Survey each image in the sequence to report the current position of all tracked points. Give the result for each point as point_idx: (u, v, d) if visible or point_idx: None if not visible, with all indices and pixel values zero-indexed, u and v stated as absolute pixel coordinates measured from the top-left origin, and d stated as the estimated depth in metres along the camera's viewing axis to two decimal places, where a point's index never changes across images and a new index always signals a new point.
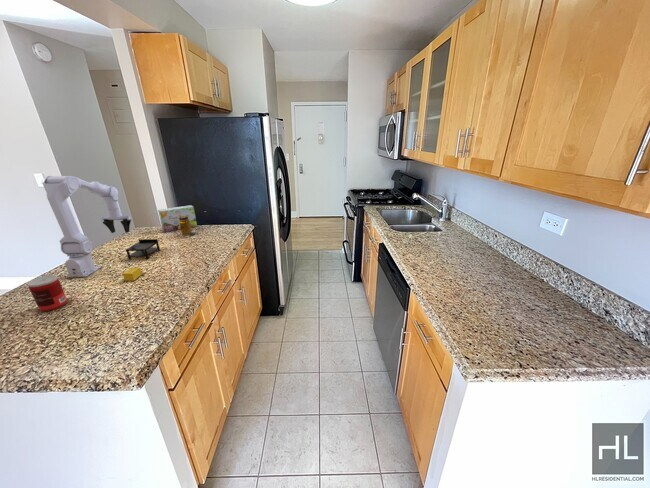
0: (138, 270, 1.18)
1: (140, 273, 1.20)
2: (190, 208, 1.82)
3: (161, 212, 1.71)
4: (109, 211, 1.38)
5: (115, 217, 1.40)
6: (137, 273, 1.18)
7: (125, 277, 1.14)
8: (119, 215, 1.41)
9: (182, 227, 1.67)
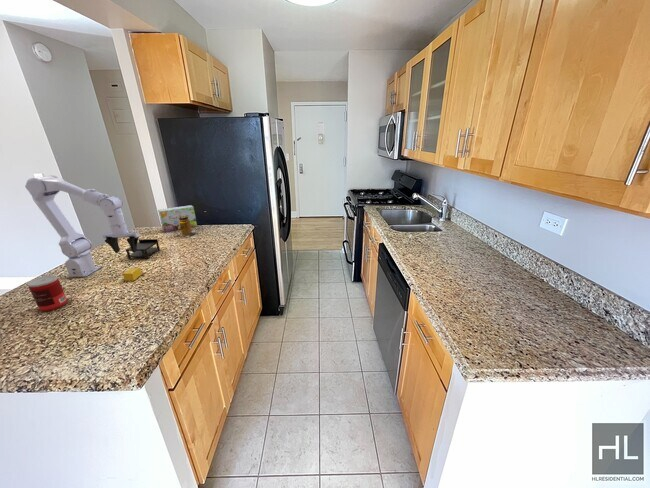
0: (138, 270, 1.18)
1: (140, 273, 1.20)
2: (190, 208, 1.82)
3: (161, 212, 1.71)
4: (113, 227, 1.13)
5: (120, 234, 1.15)
6: (137, 273, 1.18)
7: (125, 277, 1.14)
8: (125, 232, 1.16)
9: (182, 227, 1.67)
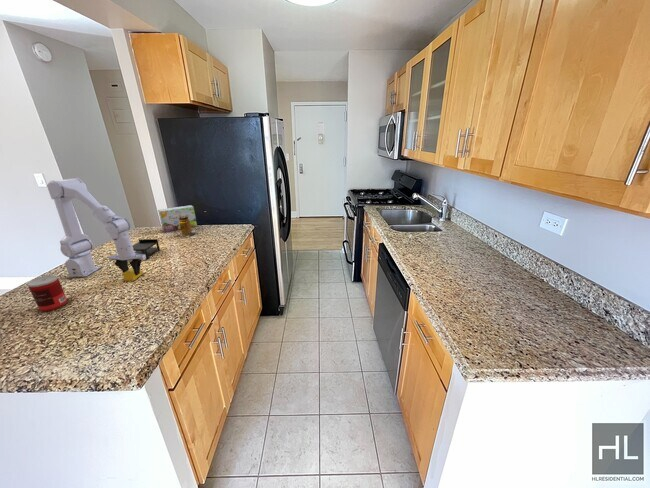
0: None
1: (140, 273, 1.20)
2: (190, 208, 1.82)
3: (161, 212, 1.71)
4: (119, 250, 1.10)
5: (126, 257, 1.11)
6: None
7: (125, 277, 1.14)
8: (131, 254, 1.13)
9: (182, 227, 1.67)
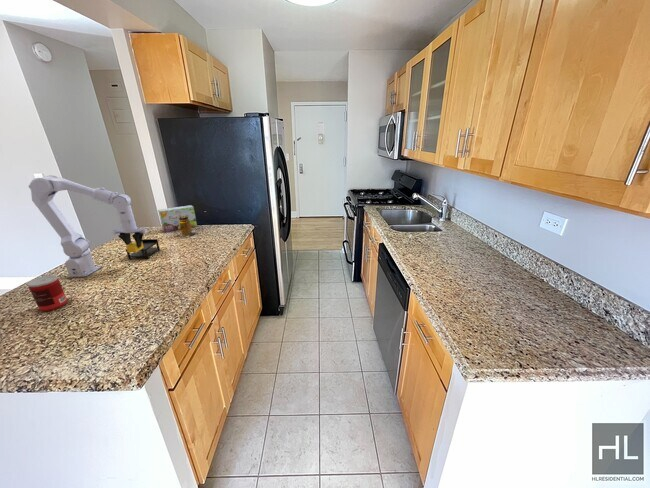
0: None
1: (142, 247, 1.29)
2: (190, 208, 1.82)
3: (161, 212, 1.71)
4: (123, 223, 1.19)
5: (129, 230, 1.21)
6: None
7: (128, 249, 1.24)
8: (134, 228, 1.22)
9: (182, 227, 1.67)
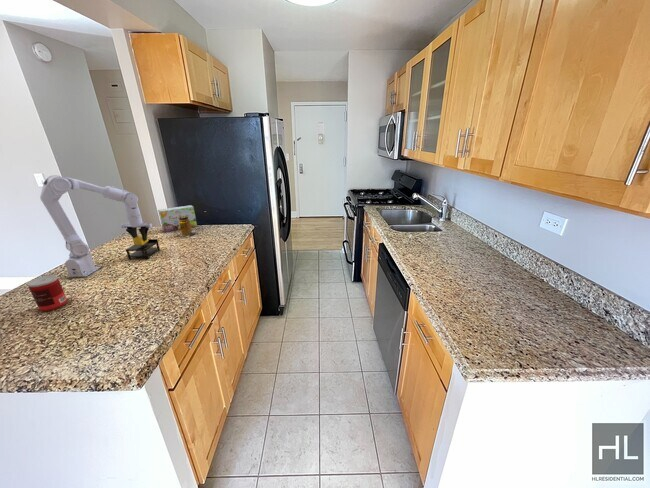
0: None
1: (147, 240, 1.41)
2: (190, 208, 1.82)
3: (161, 212, 1.71)
4: (130, 218, 1.31)
5: (136, 224, 1.33)
6: None
7: (135, 242, 1.35)
8: (140, 222, 1.34)
9: (182, 227, 1.67)
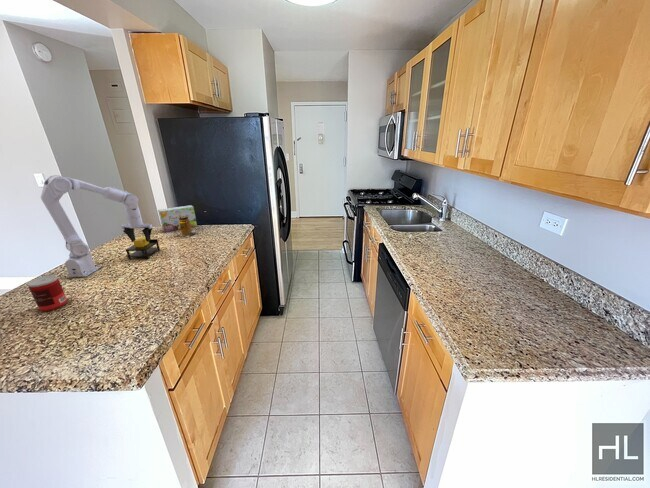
0: None
1: (148, 242, 1.41)
2: (190, 208, 1.82)
3: (161, 212, 1.71)
4: (130, 219, 1.31)
5: (136, 225, 1.33)
6: (146, 241, 1.39)
7: (135, 244, 1.36)
8: (140, 223, 1.34)
9: (182, 227, 1.67)
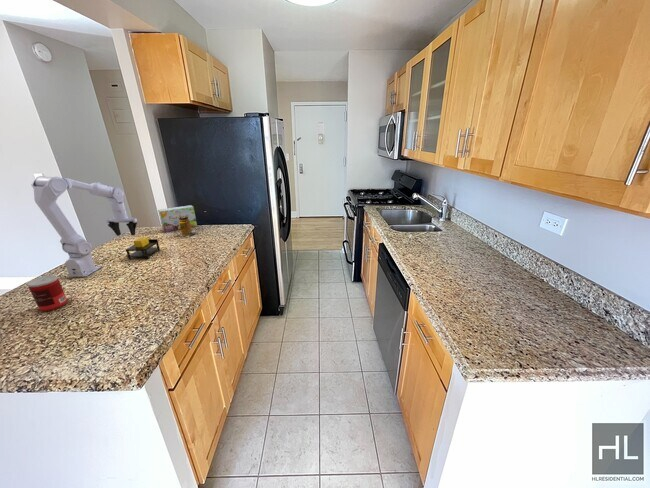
0: (146, 239, 1.40)
1: (148, 242, 1.41)
2: (190, 208, 1.82)
3: (161, 212, 1.71)
4: (115, 213, 1.33)
5: (121, 219, 1.34)
6: (146, 241, 1.39)
7: (135, 244, 1.36)
8: (125, 217, 1.36)
9: (182, 227, 1.67)
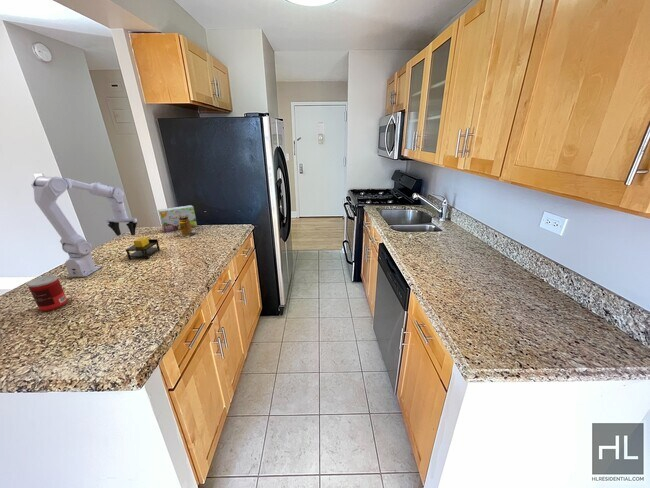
0: (146, 239, 1.40)
1: (148, 242, 1.41)
2: (190, 208, 1.82)
3: (161, 212, 1.71)
4: (115, 213, 1.33)
5: (121, 219, 1.34)
6: (146, 241, 1.39)
7: (135, 244, 1.36)
8: (125, 217, 1.36)
9: (182, 227, 1.67)
